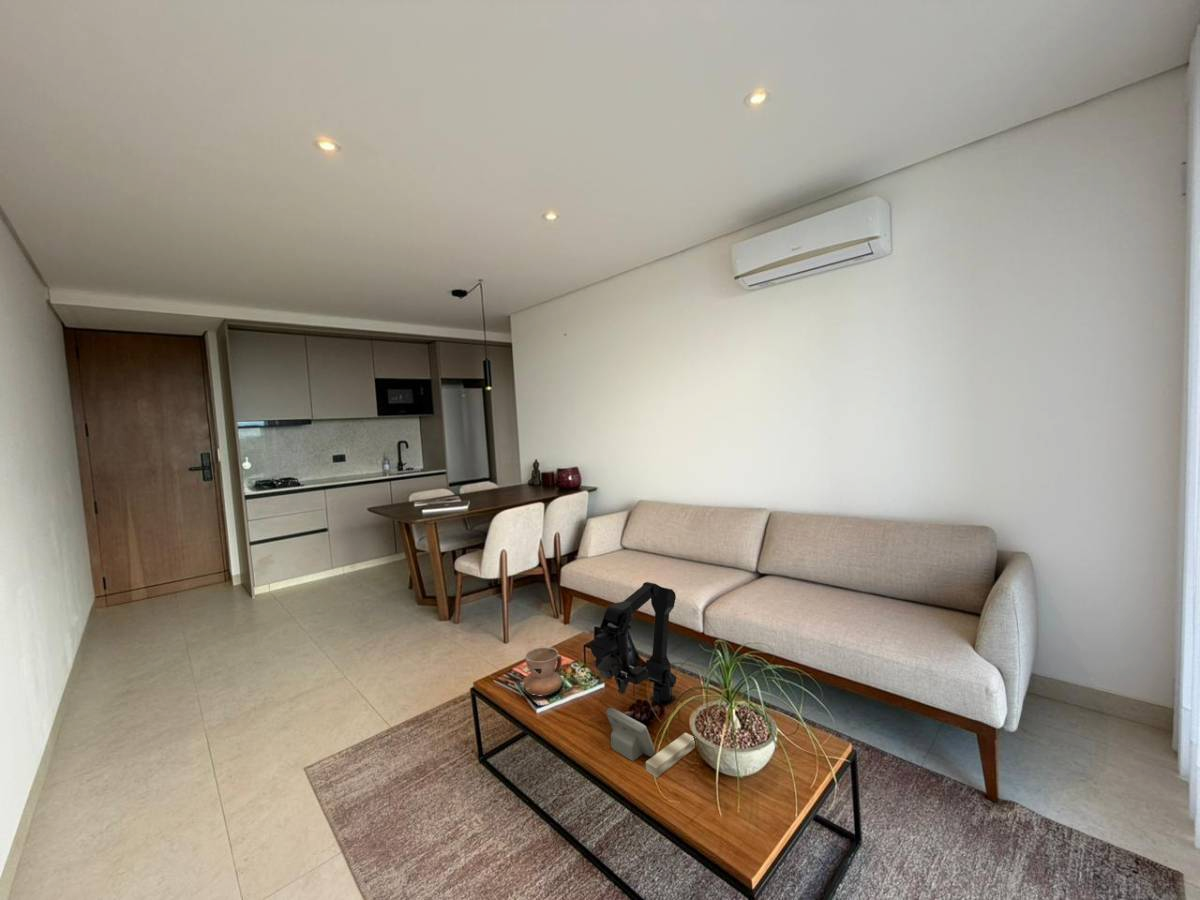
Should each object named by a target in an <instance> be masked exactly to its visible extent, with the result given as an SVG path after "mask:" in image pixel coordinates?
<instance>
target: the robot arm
mask: <svg viewBox="0 0 1200 900" xmlns="http://www.w3.org/2000/svg"><path fill="white" fill-rule="evenodd" d="M676 598H677V597H676V592H675V591H674V589H672V588H668V587H663V586H660V585H659V584H657V583H656V582H655V583H654V582H649V581H646V582H643V583H642V586H640V587H639V588H637V589H636V591H635V592H633V593H632V594H631V595H629V596H628V597H627V598H626V599H625V600H623V601H620V602H615V603H613V604H611V605H609V606H608V607H607V608H606V609H605V612H604V614H603V618H602V620H601V623H600V627H599V631H600V632H601V633H599V634H597V635H594V639H593V640H592V641H591V643H590V647H589V648H590V651H591V654H592V656H594V658H595V660H594V664H595V667H596V669H597V670H598V673H599V675H600V677H603V678H605V679H606V680H608V681H610V680H612V679H614V681H615V683H616V685H617V688H618V690H619V693H620V694H621V695H624V694H625V693H626V690H627V689H628V685H629V683H631V684H634V685H639V684H641V683H642V682H644V681H645V680H647V679H648V682H649V683H653V689H652V694H653V695H652V697H651V698H650V700H651V701H653V702H655V703H656V704H659V705H661V706H663V707H666V706H667V705H668V704H670V703H672V702H673V701H675V700H676V696H674V695H673V688H674V687H675V684H676V683H677V676H676V675H675V674H674V673H673V672H671V671H672V669H671V662H670V660H669V658H668V655H667V654H668V640H669V637H668V636H669V625H670V623H669V621H670V620H669V619H670V613H671V612H672V611H673V609H674V608H675V604H676V603H675V602H676ZM648 601H651V602H650V603H651V606H652V609H653V611H654V623H653V625H654V626H653V627H654V628H653V639H652V640H653V641H652V642H653V643H652V653H651V656H650V657H649V659H646V660H645V668H644V667H643V666H640V665H636V666H632V664H633V660H632V659H630V653H631V652H632V647H629V637H628V631H629V630H631V629H632V625H630V622H632V620H633V617H634V614H635V613H636V612H637V611H638V610H639V609H640V608H641V607H643V606H644V604H646V603H647V602H648ZM611 625H612V626H611ZM613 626H614V627H613Z"/></svg>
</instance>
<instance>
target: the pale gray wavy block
mask: <svg viewBox="0 0 1200 900" xmlns="http://www.w3.org/2000/svg"><path fill="white" fill-rule="evenodd" d="M693 737H694V736H693V735H691V734H689V733H687V732H684V733H683V734H681V735H680V736H678V737H677V738H676V739H674V740H673V741H672V742H670V743H669V744H668V745H666V746H665V747H664V748H662V749H661V750H660V751H658V752H657V753H655V755H654V756H651V757H650V758H648V759H647V760H646V761H645V770H646V772H647V773H649V774H650V775H652V776H653V777H655V778H658V777H660V776H661V775H662V774H664V773H666V771H667V770H669V769H670V768H671V767H673V766H674V765H675V764H676V763H678V762H679V761H681V759H683V758H684V757H686V756H687V754H689V753H690V752H692V751H693V750H694V749H695V748H696V747H695V741H694V738H693Z"/></svg>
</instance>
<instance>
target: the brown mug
mask: <svg viewBox="0 0 1200 900" xmlns="http://www.w3.org/2000/svg"><path fill="white" fill-rule="evenodd" d="M524 658H525V660H524V661H525V663H526V666H527V667H524V668H523V669H522V672H523V674H527V673H529V672H530V673H529V674H527V676H526V677H525V678H524V679H523V689H524V688H525V689H524V690H526V691H527V692H528V693H531V694H535V695H546V694H551V693H553V692H555V691H556V692H557V691H559V690H558V689H560V688H561V687H562V684H563V678H562V676H561V675H560V670H561V668H562V664H563V663H562V662H563V658H562V656H561V654H559V652H558V650H557V649H556V648H554V647H551V646H540V647H534V648H532V649H530V650H528V651H527V652H526V653H525V655H524ZM526 691H525V692H526ZM527 692H526V693H527ZM556 692H555V693H556ZM528 693H527V694H528ZM553 694H554V693H553ZM551 695H552V694H551Z"/></svg>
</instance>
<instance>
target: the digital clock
mask: <svg viewBox="0 0 1200 900" xmlns="http://www.w3.org/2000/svg"><path fill="white" fill-rule="evenodd" d="M606 717H607V718H608V722H609V724H610V726H611V729H612V731H611V734H610V745H611V749H612V750H613V751H615V752H617V753H618V754H620V755H622V756H623V757H625V758H626V759H627V760H629V761H631V762H635V760H637V759H639V757H641V756H642V755H646V756H648V757H653V756H654V755H656V748H655V747H654V746H655V745H654V743H653V741H652V738H651V735H650V733H649V730H648V727H647V726H646V725H645V724H644V723H642V722H640V721H639V720H636V719H634V718H632V717H631V716H628V715H627V714H625V713H623V712H621V711H619V710H618V709H616V708H614V707H608V708H607V709H606Z"/></svg>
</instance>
